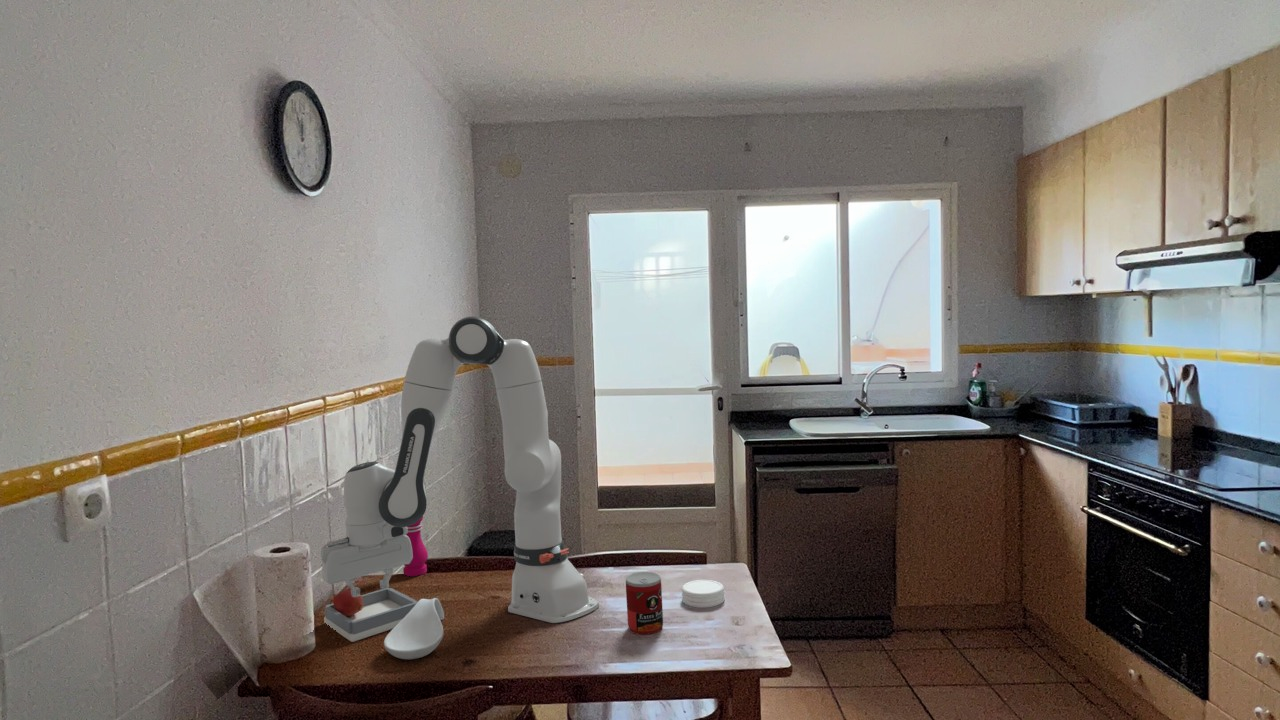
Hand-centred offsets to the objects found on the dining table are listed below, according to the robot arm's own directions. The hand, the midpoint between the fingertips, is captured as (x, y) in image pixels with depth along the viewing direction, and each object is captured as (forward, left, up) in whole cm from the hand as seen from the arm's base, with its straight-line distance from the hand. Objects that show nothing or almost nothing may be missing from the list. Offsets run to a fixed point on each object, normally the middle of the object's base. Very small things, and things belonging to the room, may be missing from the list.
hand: (370, 592), depth 167 cm
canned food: (-52, -38, -7) cm, 65 cm away
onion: (+1, +1, -4) cm, 4 cm away
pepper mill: (+25, -23, -7) cm, 35 cm away
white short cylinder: (-51, -58, -7) cm, 78 cm away
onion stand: (0, 0, -7) cm, 7 cm away
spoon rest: (-20, -2, -7) cm, 21 cm away
